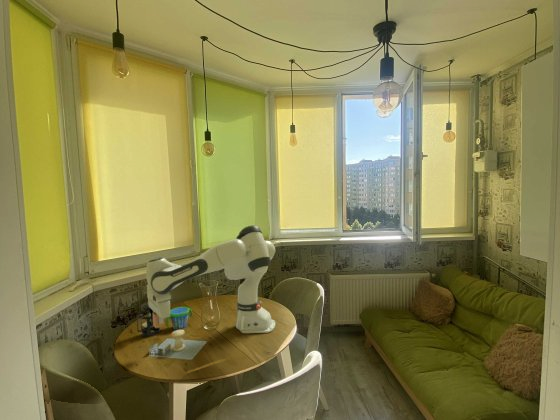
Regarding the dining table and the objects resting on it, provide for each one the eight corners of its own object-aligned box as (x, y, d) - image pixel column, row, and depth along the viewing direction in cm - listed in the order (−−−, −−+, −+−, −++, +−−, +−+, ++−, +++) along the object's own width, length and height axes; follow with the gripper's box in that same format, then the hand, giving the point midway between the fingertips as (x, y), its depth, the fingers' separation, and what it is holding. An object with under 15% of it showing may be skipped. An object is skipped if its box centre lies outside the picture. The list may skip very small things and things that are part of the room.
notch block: (170, 350, 136) (170, 344, 136) (164, 356, 131) (164, 349, 131) (155, 348, 137) (155, 342, 137) (149, 354, 132) (148, 348, 132)
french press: (163, 329, 159) (161, 289, 158) (160, 337, 150) (158, 295, 149) (140, 332, 157) (138, 291, 155) (136, 341, 147) (133, 297, 146)
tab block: (161, 322, 136) (161, 308, 136) (164, 325, 133) (163, 310, 133) (153, 325, 134) (152, 310, 133) (155, 328, 131) (155, 313, 130)
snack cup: (170, 336, 152) (169, 317, 151) (162, 329, 160) (161, 311, 159) (197, 326, 162) (196, 308, 162) (188, 320, 170) (188, 303, 170)
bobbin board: (207, 343, 143) (206, 326, 143) (191, 362, 127) (191, 343, 127) (167, 340, 147) (166, 323, 147) (148, 358, 131) (147, 339, 131)
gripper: (143, 288, 139) (145, 316, 139) (157, 299, 123) (159, 330, 124) (157, 285, 143) (158, 312, 143) (172, 296, 127) (173, 326, 128)
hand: (159, 321), depth 134 cm, fingers closed on tab block, 4 cm apart
